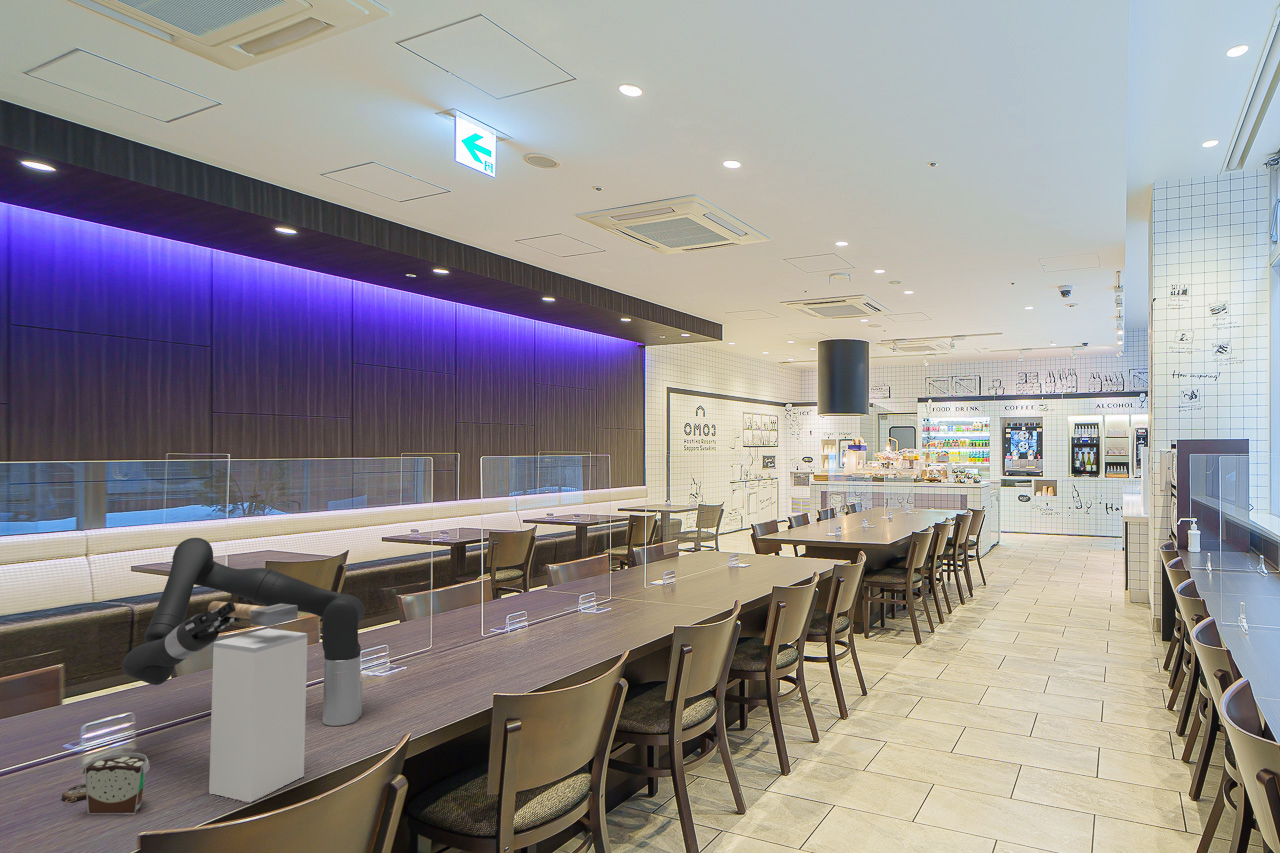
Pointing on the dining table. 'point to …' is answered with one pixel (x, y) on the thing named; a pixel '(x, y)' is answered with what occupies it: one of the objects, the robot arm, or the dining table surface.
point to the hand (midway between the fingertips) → (239, 604)
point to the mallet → (261, 613)
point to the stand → (258, 713)
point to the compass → (75, 793)
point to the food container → (115, 783)
